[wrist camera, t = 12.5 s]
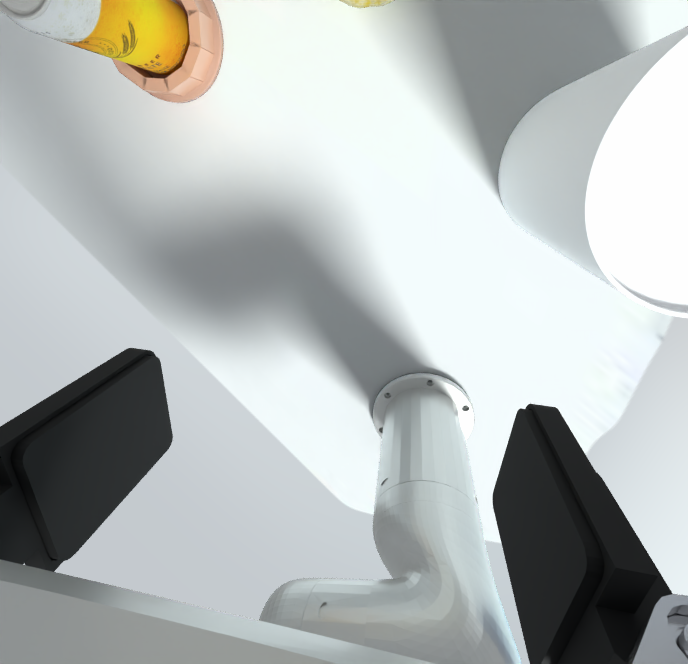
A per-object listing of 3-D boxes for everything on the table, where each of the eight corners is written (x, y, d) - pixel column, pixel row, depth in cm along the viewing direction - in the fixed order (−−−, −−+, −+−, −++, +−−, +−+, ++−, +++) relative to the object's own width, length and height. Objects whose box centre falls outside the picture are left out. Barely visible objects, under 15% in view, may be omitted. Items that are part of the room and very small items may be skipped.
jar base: (226, 106, 37) (210, 102, 34) (128, 99, 38) (105, 94, 35) (219, -36, 32) (200, -55, 29) (108, -39, 33) (79, -58, 30)
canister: (629, 247, 36) (844, 334, 18) (484, 235, 38) (549, 304, 20) (692, 80, 30) (1102, -37, 12) (518, 76, 32) (653, -31, 14)
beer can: (134, 64, 36) (-34, 8, 22) (137, -15, 33) (-52, -134, 20) (192, 85, 36) (58, 42, 22) (200, 8, 33) (54, -96, 19)
